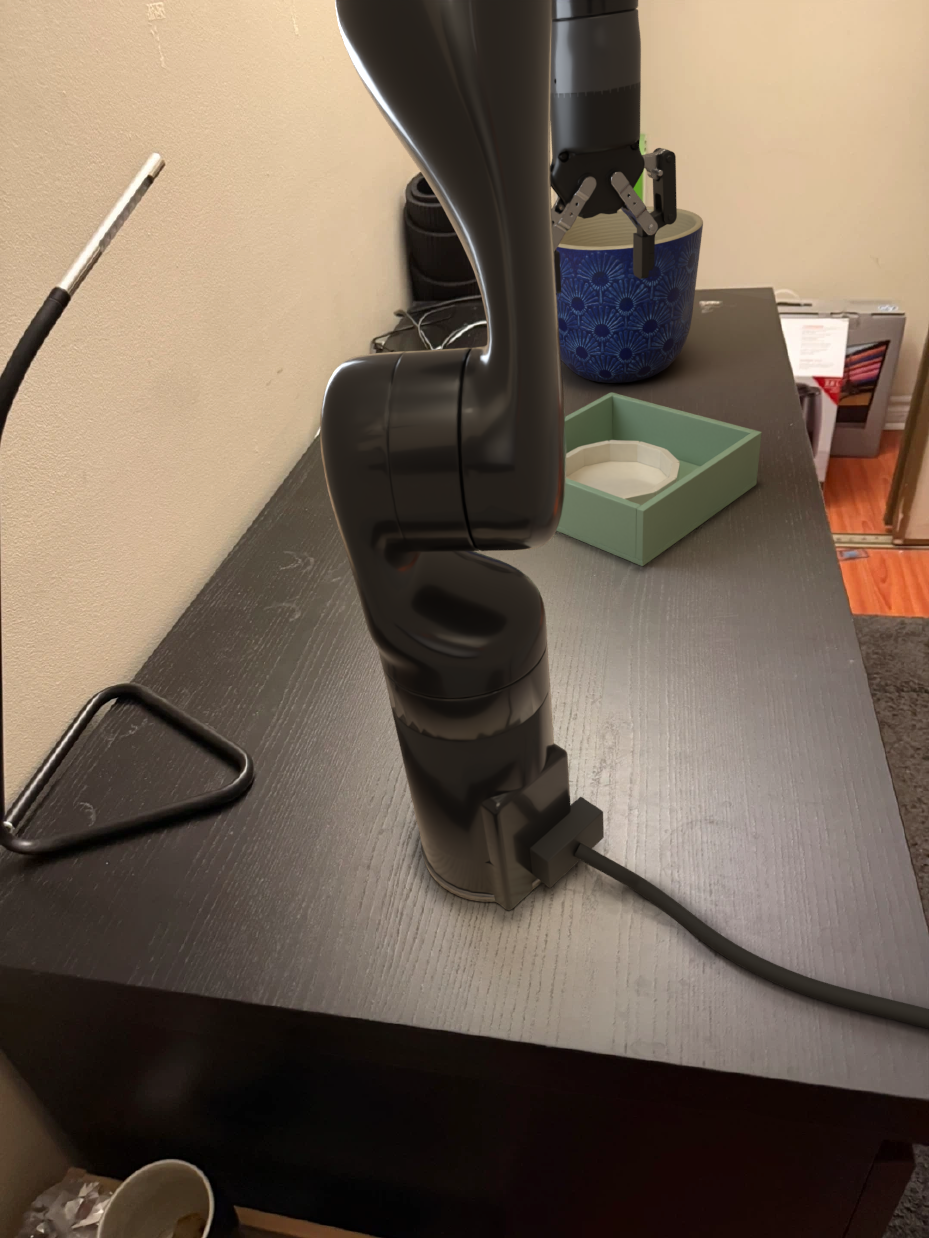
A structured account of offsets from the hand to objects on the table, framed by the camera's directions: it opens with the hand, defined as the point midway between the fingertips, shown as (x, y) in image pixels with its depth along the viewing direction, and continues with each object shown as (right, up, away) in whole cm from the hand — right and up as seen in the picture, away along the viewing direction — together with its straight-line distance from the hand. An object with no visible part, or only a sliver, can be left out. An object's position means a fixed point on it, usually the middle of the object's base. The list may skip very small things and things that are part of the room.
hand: (598, 284), depth 79 cm
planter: (+10, +4, +40) cm, 42 cm away
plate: (+4, -18, +11) cm, 22 cm away
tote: (+5, -18, +12) cm, 22 cm away
